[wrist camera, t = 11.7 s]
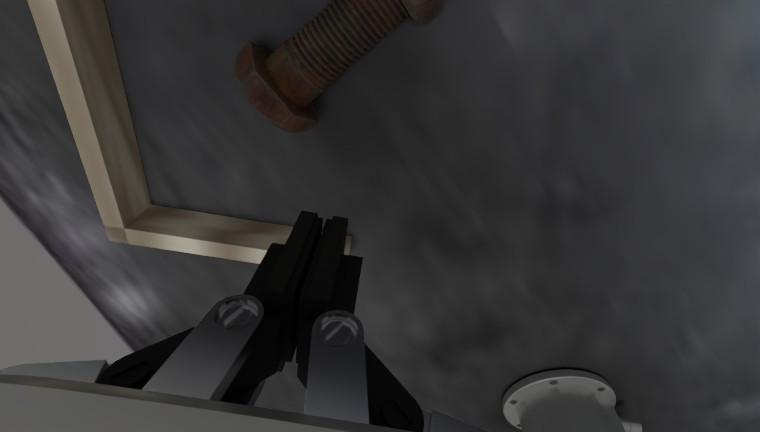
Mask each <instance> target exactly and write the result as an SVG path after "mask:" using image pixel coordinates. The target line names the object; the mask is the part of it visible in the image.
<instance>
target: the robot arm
mask: <svg viewBox="0 0 760 432" xmlns="http://www.w3.org/2000/svg"><path fill="white" fill-rule="evenodd" d="M322 222H323V219H322V218H318V214H317V213H313V212H307V211H301V213H300V215H299V217H298V219H297V221H296V223H295V225H294V227H293V229H292V231H291V233H290V235H289V237H288V239H287V241H286V243H285V244H279V243H272V244H271V245H270V247H269V248H268V250H267V252H266V254H265V256H264V258H263V259H262V261H261V263H260V265H259V267H258V268H257V270H256V272H255V274H254V276H253V278H252V279H251V281H250V283H249V285H248V287H247V289H246V290H245V292H244V294H240V295H232V296H228V297H225V298H224V299H222V300H220V301H218V302H217V303H216V304H215V305H214V306H213V307H212V308H211V309H210V310H209V311H208V312H207V314H206V315H205V316H204V317H203V318H202V319H201V321H200V322H199V323H198V324H197V325H196V326H195V327H193V328H191V329H188V330H186V331H184V332H181V333H179V334H177V335H174V336H172V337H169V338H167V339H165V340H162V341H160V342H158V343H155V344H153V345H151V346H148V347H146V348H143V349H141V350H139V351H136V352H134V353H132V354H129V355H127V356H125V357H123V358H121V359H119V360H117V361H115V362H114V363H112V364H108V363H107V361H106V360H92V361H74V362H55V363H36V364H21V365H16V366H11V367H8V368H5V369H3V370H0V432H488V431H486V430H483V429H481V428H478V427H476V426H473V425H471V424H468V423H466V422H463V421H461V420H458V419H456V418H453V417H451V416H448V415H446V414H443V413H441V412H438V411H436V410H433V412H432V413H431V412H428V411H426V410H423V409H421V408H420V406H419V405H418V403H417V402H416V400H415V399H414V398H413V397H412V396H411V395H410V394H409V392H408V391H407V390H406V389H405V388H404V387H403V386H402V385H401V383H400V382H399V381H398V380H397V379H396V378H395V377H394V376H393V374H392V373H391V372H390V371H389V370H388V369H387V368H386V367H385V366H384V364H383V363H382V362H381V361H380V360H379V359H378V358H377V357H376V355H375V354H374V353H373V352H372V351H371V350H370V349H369V348H368V347H367V345H366V344H365V342H364V329H363V325H362V323H361V322H360V320H359V319H358V318H357V317H356V316H355V315H354V309H355V303H356V297H357V290H358V284H359V278H360V272H361V266H362V260H363V257H357V256H351V255H345V254H344V249H345V242H346V235H347V227H348V218H342V217H336V216H333V218H332V220H330V219H327V220H326V222H325V225H324V228H323V231H322ZM321 233H322V234H321ZM296 346H297V351H296V363H298V371H297V377H298V378H299V380H300V381H301V382H302V384H303V385H304V387H305V388H306V399H305V409H304V414H300V413H294V412H287V411H280V410H274V409H267V408H260V407H254V404H255V402H256V400H257V398H258V396H259V395H260V393H261V391H262V389H263V387H264V384H265V379H266V378H268V377H270V376H271V375H273V374H275V373H276V372H277V371H279V372H282V370H283V367H284V364H285V361H286V362H291V361H292V359H293V356H294V352H295V349H296ZM615 404H616V396H615V394H614V391H613V390H612V388H611V386H610V385H609V383H608V382H607V381H606V380H605V379H603V378H602V377H600V376H598V375H596V374H593V373H590V372H586V371H581V370H572V369H561V370H551V371H546V372H541V373H537V374H534V375H531V376H529V377H526V378H524V379H522V380H520V381H519V382H517V383H515V384H514V385H513V386H512V387H510V388H509V389H508V390H507V392H506V393H505V394H504V396H503V399H502V409H503V413H504V416H505V418H506V420H507V421H508V422H509V423H510V424H512V425H513V426H515V427H517V428H519V429H521V430H522V432H642V426H641V424H640V422H639V421H637V420H631V419H621V418H620V417H619V416H618V415H617V413H616V411H615V409H614V407H615Z"/></svg>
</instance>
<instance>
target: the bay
mask: <svg viewBox="0 0 760 432" xmlns="http://www.w3.org/2000/svg"><path fill="white" fill-rule="evenodd" d="M27 1H28V3H29V6H30V9H31V12H32V15H33V18H34V21H35V24H36V27H37V30H38V33H39V36H40V39H41V42H42V45H43V48H44V51H45V54H46V56H47V59H48V62H49V65H50V68H51V71H52V74H53V77H54V80H55V83H56V86H57V89H58V92H59V95H60V98H61V101H62V104H63V106H64V109H65V112H66V115H67V118H68V121H69V124H70V127H71V130H72V133H73V136H74V139H75V142H76V145H77V148H78V151H79V154H80V157H81V159H82V162H83V165H84V168H85V171H86V174H87V177H88V180H89V183H90V186H91V189H92V192H93V195H94V198H95V201H96V204H97V207H98V209H99V212H100V215H101V218H102V221H103V224H104V227H105V230H106V233H107V236H108V239H109V241H113V242H120V243H126V244H133V245H139V246H146V247H153V248H159V249H166V250H172V251H179V252H186V253H192V254H199V255H205V256H212V257H219V258H225V259H232V260H238V261H245V262H252V263H258V264H260V263H261V261H262V259H263V258H264V256H265V254H266V252H267V250H268V248H269V247H270V245H271V244H272V243H279V244H285V243H286V241H287V239H288V237H289V235H290V233H291V231H292V229H293V227H292V226H286V225H279V224H273V223H266V222H260V221H254V220H247V219H241V218H235V217H228V216H222V215H216V214H209V213H203V212H197V211H190V210H184V209H178V208H171V207H165V206H158V205H152V203H151V199H150V195H149V191H148V187H147V182H146V178H145V174H144V170H143V166H142V161H141V157H140V153H139V149H138V144H137V140H136V136H135V132H134V128H133V123H132V119H131V115H130V111H129V106H128V102H127V98H126V94H125V90H124V85H123V81H122V77H121V73H120V69H119V64H118V60H117V56H116V52H115V47H114V43H113V39H112V35H111V31H110V26H109V22H108V18H107V14H106V9H105V5H104V1H103V0H27ZM321 234H322V233H321ZM351 240H352V236H349V235H346V242H345V249H344V254H345V255H349V252H350V247H351Z"/></svg>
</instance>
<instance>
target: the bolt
mask: <svg viewBox="0 0 760 432" xmlns="http://www.w3.org/2000/svg"><path fill="white" fill-rule="evenodd" d="M331 1H332V5H330V4H327V9H328V10H327V9H325V8H323V10H322V11H323V14H322V13H318V17H319V18H317V17H314V18H313V20H314V22H312V21H309V22H308V24H309V26H308V25H305V26H304V29H300V30H299V33H296V34H295V37H292V38H291V39H290V40H289V41H285V42H284V43H283V44H282V45H281V46H280V47H278V48H277V49H276V50H275V51H274V52H273V53H271V52H269V51H267V50H266V49H264V48H262V47H260V46H258V45H256V44H254V43H252V42H249V43H248V44H247V45H246V46H245V47H244V48H243V49H242V50H241V51H240V52H239V53H238V54H237V57H236V61H235V68H234V71H235V77H236V79H237V81H238V83H239V85H240V87H241V89H242V91H243V92H244V94H245V95H246V97H247V98H248V100H249V102H250V103H251V104H252V106H253V107H254V108H255V109H256V110H257V111H258V112H259V113H260V114H261V115H262V116H264V117H265V118H266V119H267V120H269V121H270V122H271V123H272V124H274V125H275V126H277V127H278V128H280V129H282V130H283V131H285V132H288V133H301V132H306V131H307V130H308V129H310V128H311V127H312V126H314V125H315V124H316V123H317V122H318V119H317V116H316V112H315V109H314V105H313V102H312V101H313V100H314V99H315V98H316V97H317V96H318V95H320V94H321V93H322V92H323V91H324V90H325V87H327V86H328V84H330V83H331V82H332V80H335V79H336V76H337V77H338V76H340V73H343V72H344V71H345V69H348V68H349V65H353V64H354V61H355V62H356V61H358V57H360V58H362V57H363V54H366V53H367V50H366V49H368V50H371V45H372V46H374V47H375V46H376V42H380V37H381V38H385V33H386V34H390V29H392V30H394V25H398V26H399V21H403V22H404V16H405V17H408V18H409V16H410V17H411V19H412V20H413V22H414V23H415V25H420V26H426V25H427V24H429V23H430V22H431V21H432V20H434V19H435V18H436V17H437V16H439V15H440V14H441V13H442V11H443V7H444V3H445V0H337V1H336V0H331ZM362 53H363V54H362Z"/></svg>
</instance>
